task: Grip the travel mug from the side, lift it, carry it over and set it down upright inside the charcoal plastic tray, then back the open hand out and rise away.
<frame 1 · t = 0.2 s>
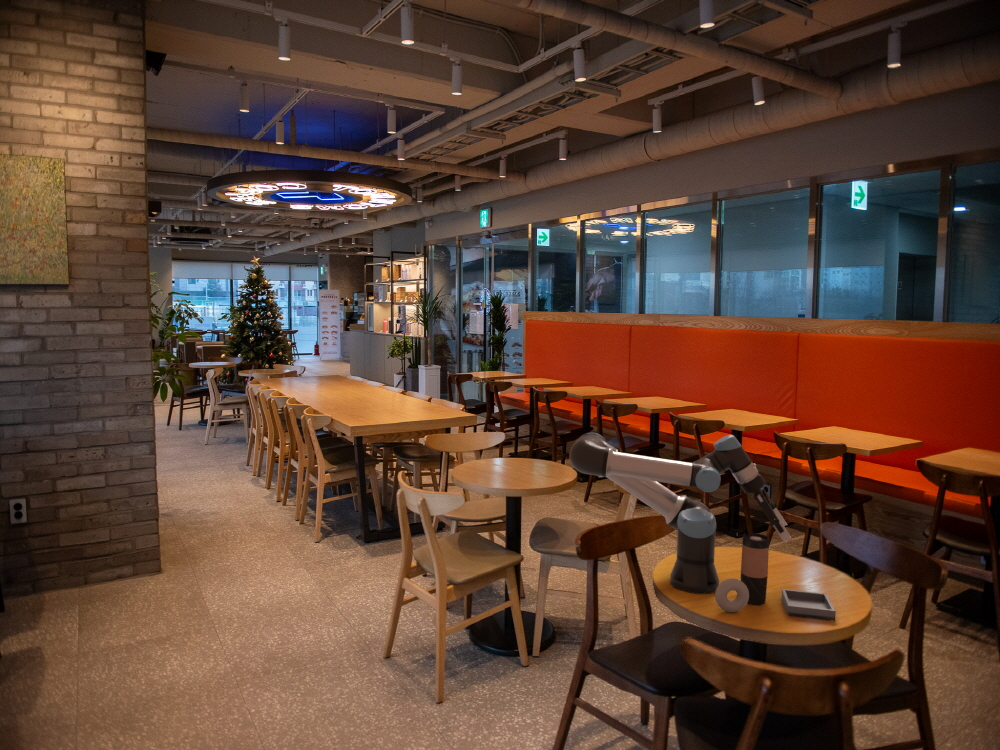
hand: (785, 533, 225), 15 cm above the table, tool tilted 35°, fingers open, 13 cm apart
donut: (731, 612, 201), on the table
tray: (807, 609, 203), on the table
travel mug: (752, 601, 209), on the table
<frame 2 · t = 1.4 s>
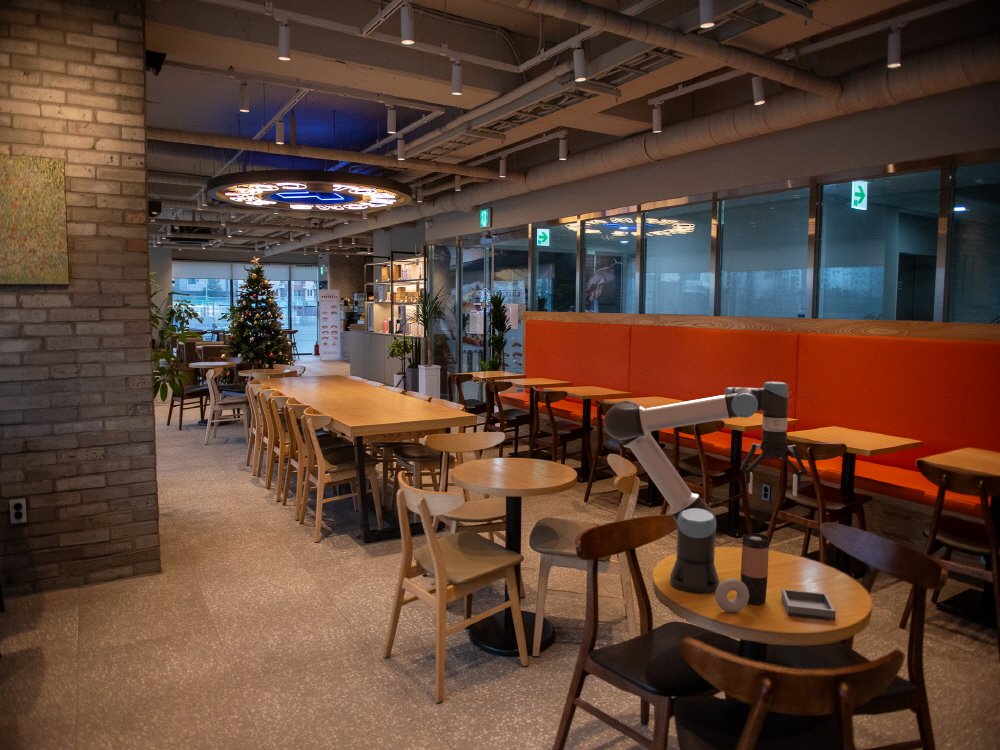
hand: (772, 494, 224), 28 cm above the table, tool pointing down, fingers open, 13 cm apart
nothing on the table moved.
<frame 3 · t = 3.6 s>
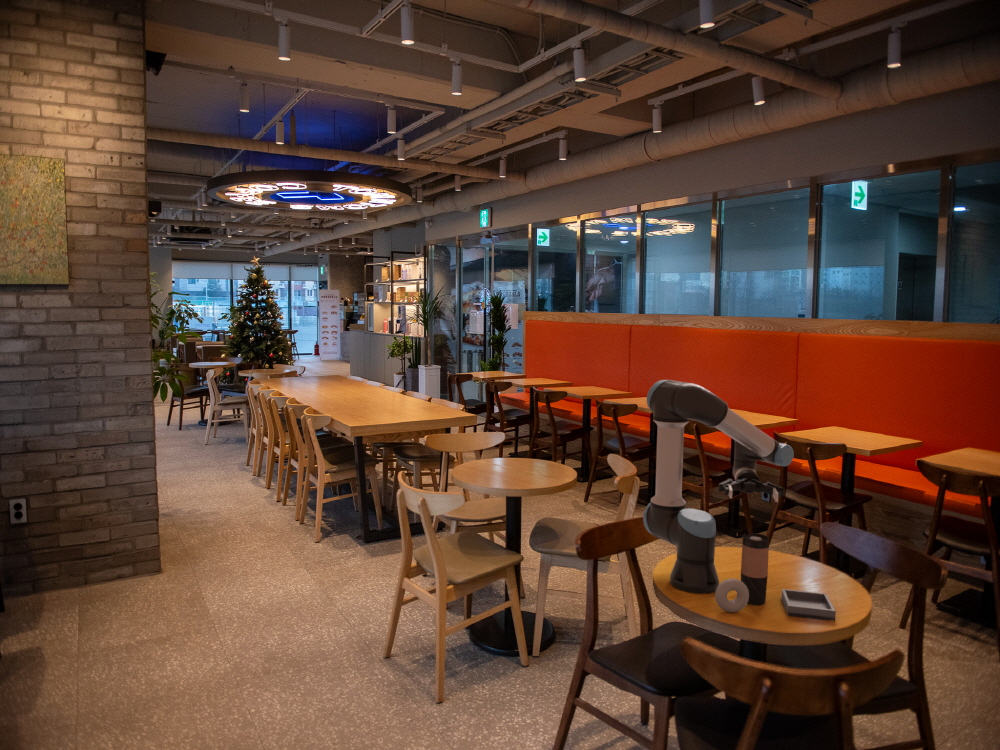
hand: (753, 496, 215), 30 cm above the table, tool horizontal, fingers open, 13 cm apart
nothing on the table moved.
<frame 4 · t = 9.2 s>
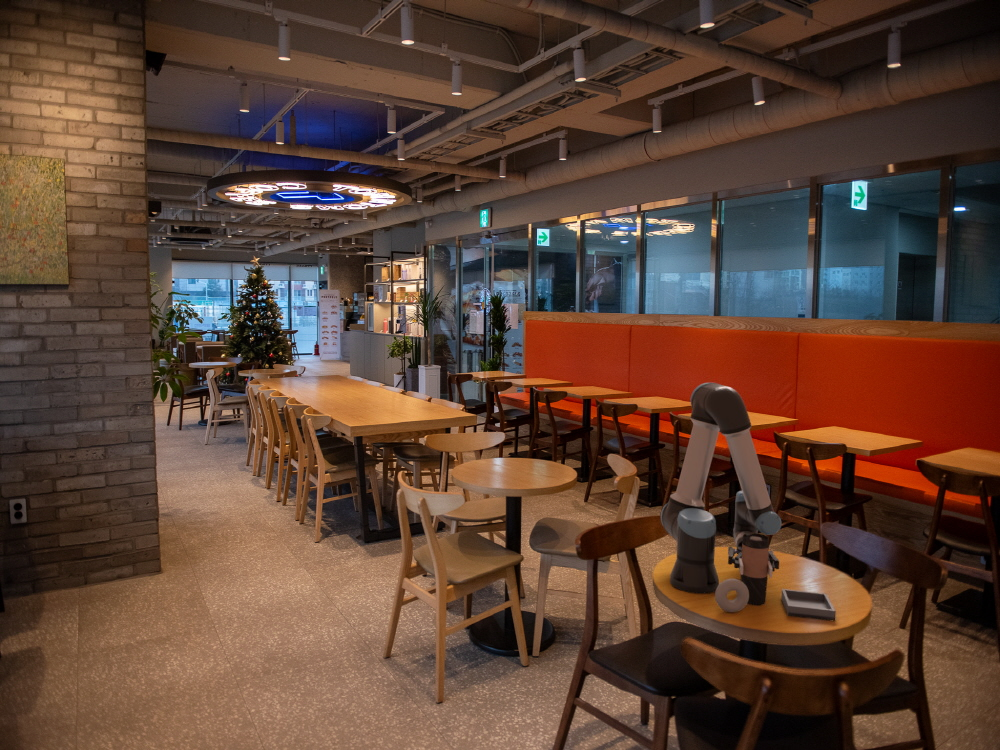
hand: (756, 571, 203), 11 cm above the table, tool horizontal, fingers closed on travel mug, 7 cm apart
travel mug: (752, 601, 209), on the table, touching gripper
everything else where it was.
when the fingers open (13 cm above the table, at t = 15.1 s): travel mug drops 1 cm, resting on tray.
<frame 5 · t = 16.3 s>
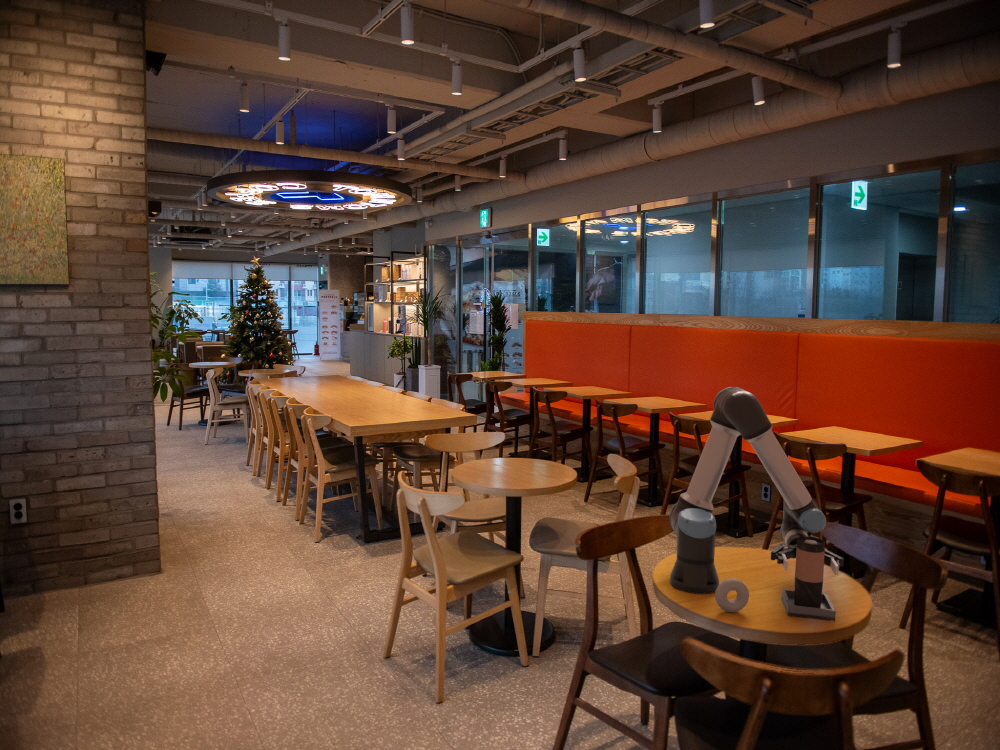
hand: (811, 568, 199), 14 cm above the table, tool horizontal, fingers open, 13 cm apart
travel mug: (807, 606, 203), point 1 cm above the table, touching tray
everything else where it was.
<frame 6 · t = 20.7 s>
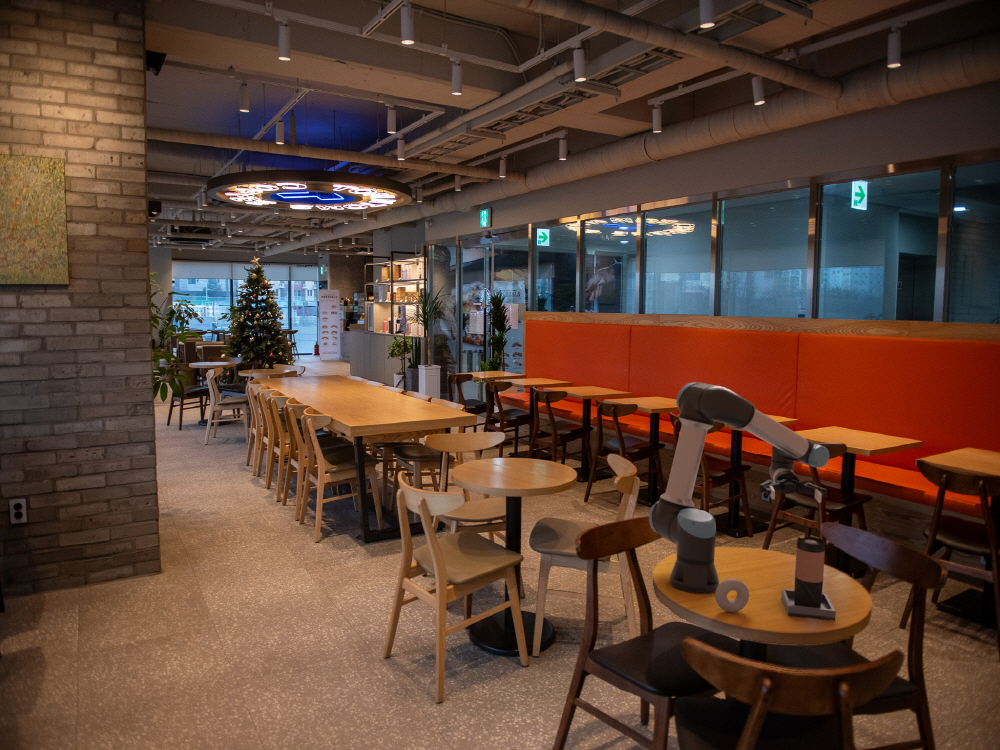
hand: (796, 496, 215), 30 cm above the table, tool horizontal, fingers open, 13 cm apart
nothing on the table moved.
at the end: travel mug 0.1 cm off-centre on the tray, point 0.8 cm above the tray's base; travel mug tilted 0°; the gripper is holding nothing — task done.
